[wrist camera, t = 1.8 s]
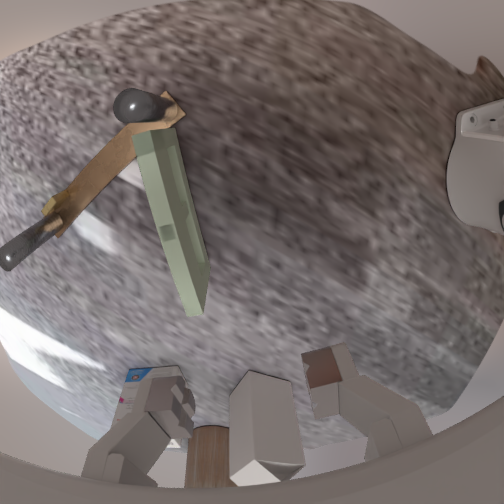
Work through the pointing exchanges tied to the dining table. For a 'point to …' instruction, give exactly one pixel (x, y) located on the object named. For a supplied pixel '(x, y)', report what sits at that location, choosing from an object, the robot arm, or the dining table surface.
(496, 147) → the robot arm
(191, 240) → the gate
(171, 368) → the ink box
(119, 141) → the drawknife
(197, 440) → the planter
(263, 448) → the milk carton
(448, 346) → the dining table surface
